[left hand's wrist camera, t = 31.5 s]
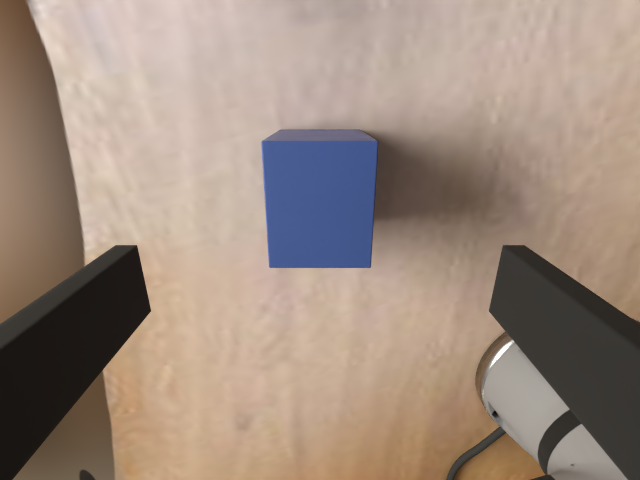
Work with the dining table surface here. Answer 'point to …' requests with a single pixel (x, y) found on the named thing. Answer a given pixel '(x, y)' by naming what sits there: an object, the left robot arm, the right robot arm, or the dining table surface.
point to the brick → (319, 198)
